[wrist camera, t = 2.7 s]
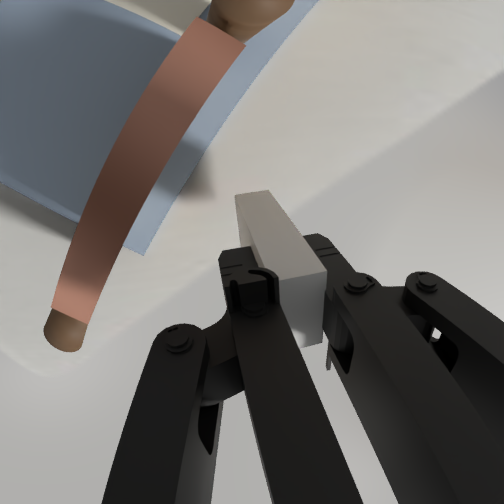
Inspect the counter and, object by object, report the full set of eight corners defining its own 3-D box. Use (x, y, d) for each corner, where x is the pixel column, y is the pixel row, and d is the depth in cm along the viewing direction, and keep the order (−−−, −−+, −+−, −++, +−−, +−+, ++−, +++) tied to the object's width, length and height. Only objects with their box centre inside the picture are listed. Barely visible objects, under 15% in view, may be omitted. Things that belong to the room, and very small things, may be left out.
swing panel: (192, 48, 12) (195, 13, 6) (221, 65, 12) (249, 45, 6) (81, 251, 15) (41, 341, 9) (106, 263, 16) (77, 357, 10)
